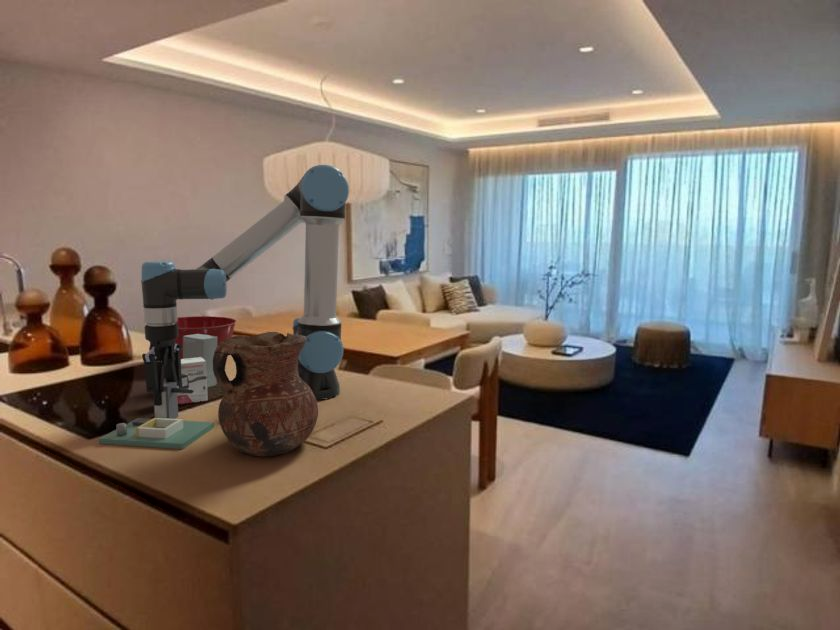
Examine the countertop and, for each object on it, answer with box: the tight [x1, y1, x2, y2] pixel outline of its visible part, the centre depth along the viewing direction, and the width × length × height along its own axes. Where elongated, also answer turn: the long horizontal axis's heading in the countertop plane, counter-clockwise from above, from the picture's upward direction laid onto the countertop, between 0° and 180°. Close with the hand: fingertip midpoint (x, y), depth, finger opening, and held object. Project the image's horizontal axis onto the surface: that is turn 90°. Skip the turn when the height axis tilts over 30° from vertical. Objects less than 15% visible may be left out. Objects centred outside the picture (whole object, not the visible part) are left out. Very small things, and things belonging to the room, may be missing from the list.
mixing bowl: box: [174, 315, 237, 359], centre depth 198 cm, size 28×28×16 cm
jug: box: [213, 331, 319, 457], centre depth 121 cm, size 22×21×25 cm
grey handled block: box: [152, 381, 194, 419], centre depth 139 cm, size 10×4×9 cm, turn 83°
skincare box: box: [183, 334, 218, 389], centre depth 169 cm, size 8×7×16 cm
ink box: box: [177, 357, 209, 405], centre depth 154 cm, size 8×5×12 cm, turn 123°
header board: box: [98, 417, 215, 450], centre depth 128 cm, size 20×14×4 cm
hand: (166, 413), depth 139 cm, fingers closed on grey handled block, 4 cm apart
